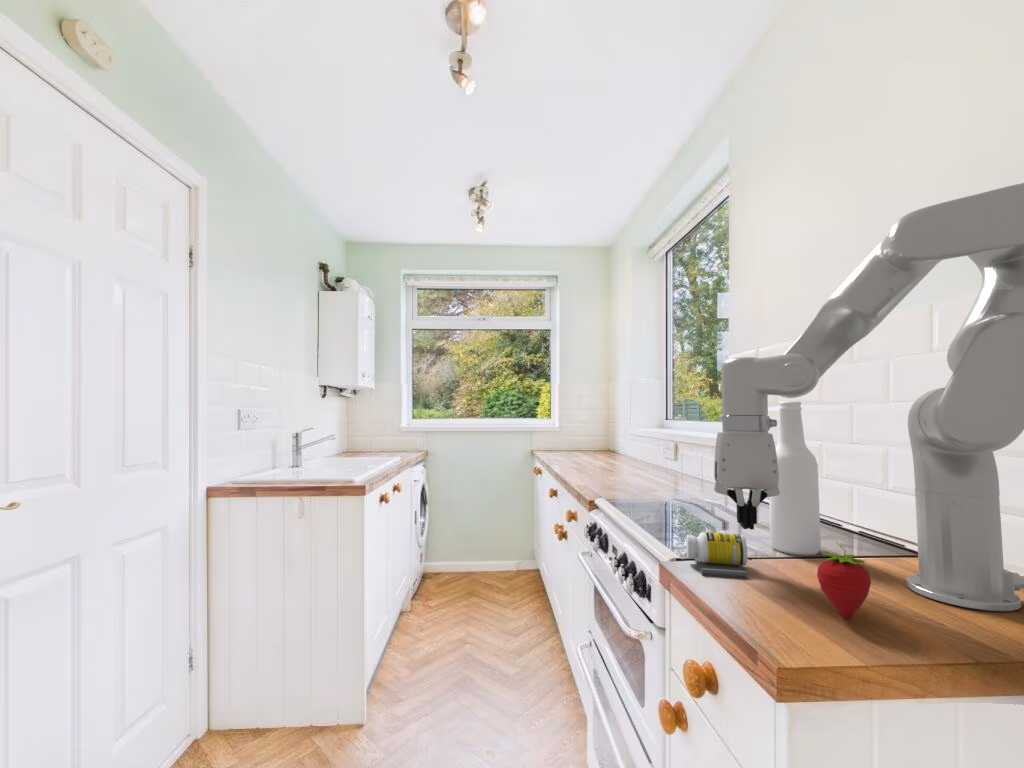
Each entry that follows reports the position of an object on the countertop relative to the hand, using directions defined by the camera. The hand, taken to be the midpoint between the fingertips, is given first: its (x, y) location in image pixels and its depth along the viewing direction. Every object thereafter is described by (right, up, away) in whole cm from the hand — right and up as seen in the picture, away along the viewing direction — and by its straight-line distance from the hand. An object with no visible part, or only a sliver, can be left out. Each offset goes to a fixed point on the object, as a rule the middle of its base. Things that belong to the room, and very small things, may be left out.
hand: (746, 527), depth 86 cm
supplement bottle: (0, -4, 0) cm, 4 cm away
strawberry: (+3, -6, -21) cm, 22 cm away
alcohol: (+15, -8, +10) cm, 20 cm away
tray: (-5, -7, +1) cm, 9 cm away
